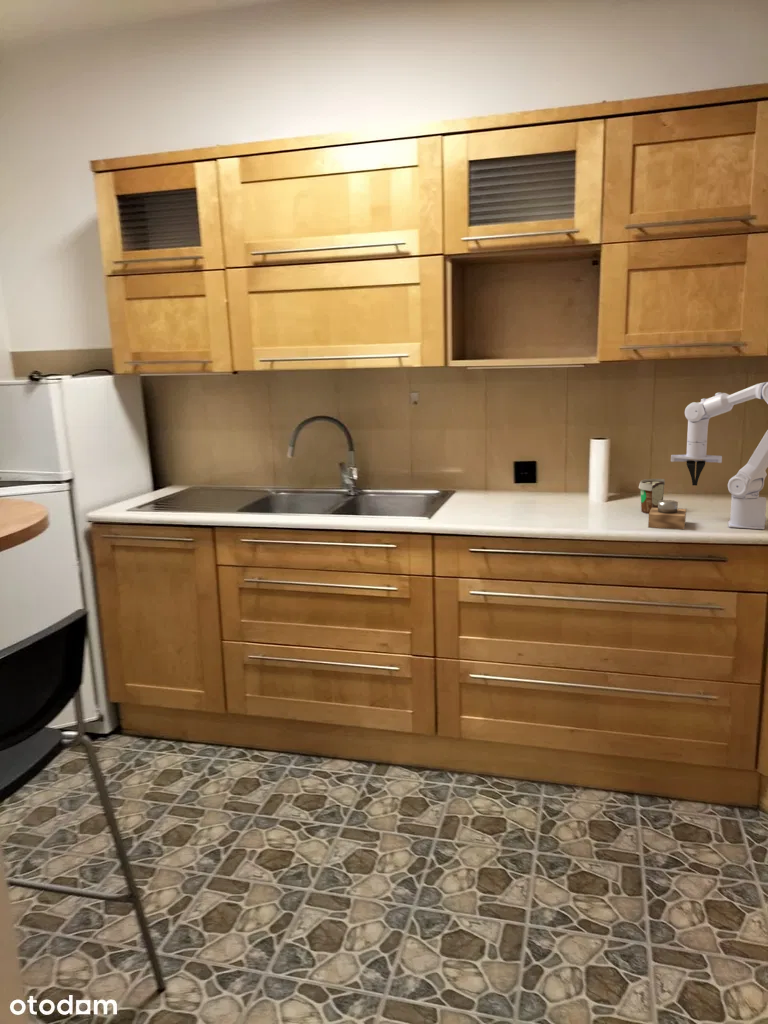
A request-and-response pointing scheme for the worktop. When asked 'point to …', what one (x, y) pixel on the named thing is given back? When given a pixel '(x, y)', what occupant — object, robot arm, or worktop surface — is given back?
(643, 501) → the food container
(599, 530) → the worktop surface
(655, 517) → the block
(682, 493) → the worktop surface
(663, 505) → the grey rounded piece
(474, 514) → the worktop surface
